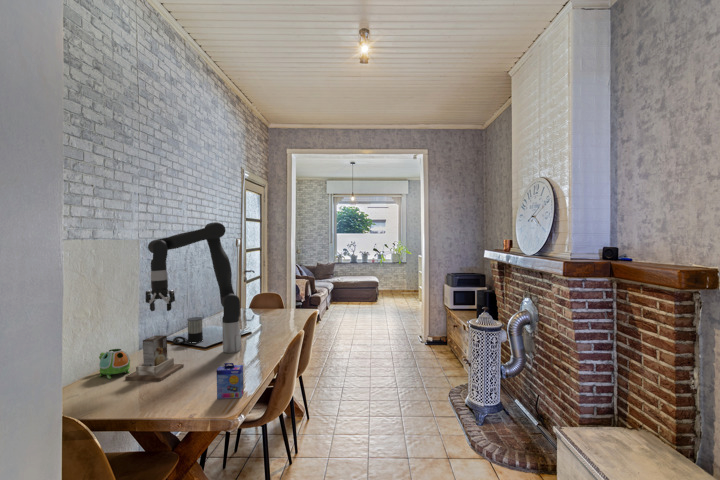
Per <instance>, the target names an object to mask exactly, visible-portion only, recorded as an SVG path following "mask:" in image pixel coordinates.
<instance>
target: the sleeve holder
mask: <svg viewBox="0 0 720 480" xmlns="http://www.w3.org/2000/svg"><path fill="white" fill-rule="evenodd" d="M167 359H168V360H166V361H164V362H163V363H161V364H159V365H157V366H144V362H143V363H141V364H139V365H136V366H135V371H134V372H132V373H131V372H130V373H129V374H127V375H126V376H125V377H124V379H125V381H147V380H150V381H152V382H158V381H159V382H162V381H164V380H165V379H167V378H168V377H170V376H171V374H172V375H173V374H175V373H176V372H177V371H180V370H181V369H183V368H184V365H185V364H184V363H175V361H174V360H175V358H174V357H167ZM166 377H167V378H166ZM150 381H149V382H150Z"/></svg>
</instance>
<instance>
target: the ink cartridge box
mask: <svg viewBox="0 0 720 480" xmlns="http://www.w3.org/2000/svg"><path fill="white" fill-rule="evenodd" d="M215 373H216V399H217V400H220V399H221V400H222V399H223V400H225V399H241V398H242V397H243V394H244V393H245V390H244V387H245V386H244V384H245V383H244V365H242V364H234V363H233V362H225V363H224V365H219V367H217V369H216V372H215Z"/></svg>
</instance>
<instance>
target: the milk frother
mask: <svg viewBox="0 0 720 480" xmlns="http://www.w3.org/2000/svg"><path fill="white" fill-rule="evenodd" d="M203 318H204V317H201V316H193V317H188V318H187V319H186V320H187V338H185V337H183V336H175V337H174V338H173V339H172V342H173V344H176V345H182V344H184V343H185V342H186V341H187V343H188V342H191V343H190V344H193V343H192V342H199V341H202V340H203V341H204V338H203V337H204V335H203V334H204V333H203V326H204V325H203ZM180 339H181V340H182V341H180ZM203 341H202V342H203ZM183 342H184V343H183ZM181 343H182V344H181ZM199 343H200V342H199Z"/></svg>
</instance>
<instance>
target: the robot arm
mask: <svg viewBox="0 0 720 480" xmlns="http://www.w3.org/2000/svg"><path fill="white" fill-rule="evenodd" d="M225 233H226V227H225V225H224V224H223V223H221V222H218V221H215V222H210V223H207V224H205V226H204V227H203V228H199V229H196V230H192V231H191V230H190V231H186V232H180V233H178V234H174V235H173V234H172V235H171V236H167V237H162V238H158V239H157V238H156V239H154V240H151V241H150V242H149V243H148V245H147V250H148V251H149V252H150V253H151V254H152V259H151V260H150V288H151V290H146V291H145V304H149V311H151V312H155V310H156V306H155V305H156V303H155V302H156V301H157V300H163V301H165V303H166V311H167V312H170V311H171V310H172V309H173V308H172V303H173V302H175V301H176V298H175V290H174V289H171V290H168V289H169V282H168V281H169V280H168V271H167V258H168V252H169V250H173V249H174V250H176V249H179V248H182V247H186V246H190V245H192V244H195V243H197V242H198V243H199V242H202V241H205V240H206V243H207V244H208V248H209V253H210V257H211V263H212V268H213V270H214V275H215V279H216V282H217V284H218V290H219V296H220V297H219V298H220V304H221V306H222V307H223V316H222V318H221V321H222V322H221V325H222V352H223V353H225V354H232V353H238V352H239V351H240V350H242V333H241V332H240V316H241V300H240V298H239V296H238V295H236V294H235V291H234V287H233V284H232V278H233V277H232V267H231V263H230V262H231V261H230V258H229V256H228V254H227V253H226V251H225V250H224V248H223V246H222V242H221V238H222V237H223V236H224V235H225Z"/></svg>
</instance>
